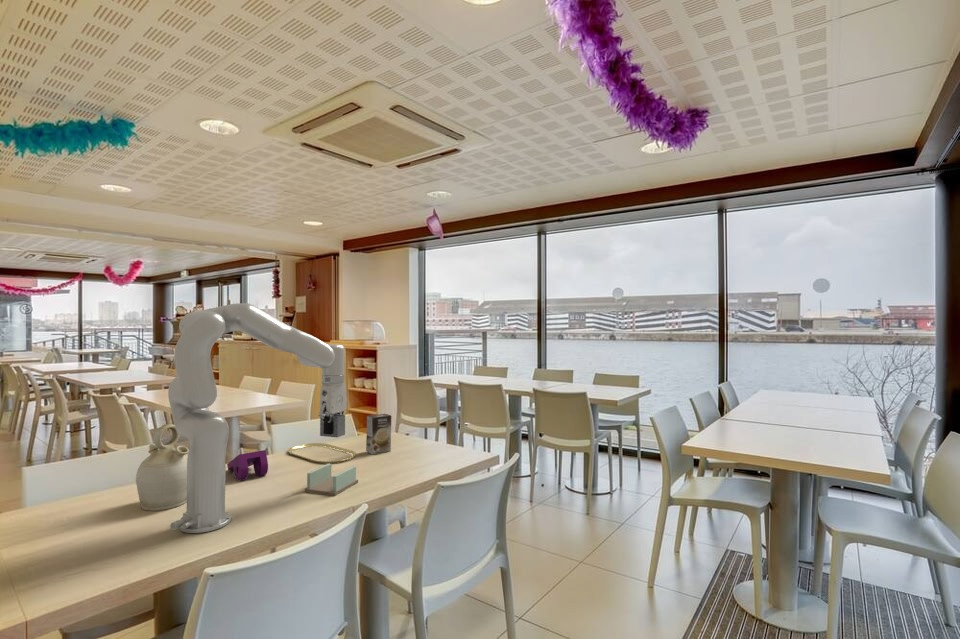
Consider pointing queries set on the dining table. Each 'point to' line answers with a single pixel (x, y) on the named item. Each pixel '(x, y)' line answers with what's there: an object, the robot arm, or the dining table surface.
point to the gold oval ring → (320, 445)
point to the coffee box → (378, 433)
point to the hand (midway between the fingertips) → (332, 431)
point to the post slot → (330, 480)
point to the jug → (163, 474)
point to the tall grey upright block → (334, 426)
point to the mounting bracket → (249, 464)
